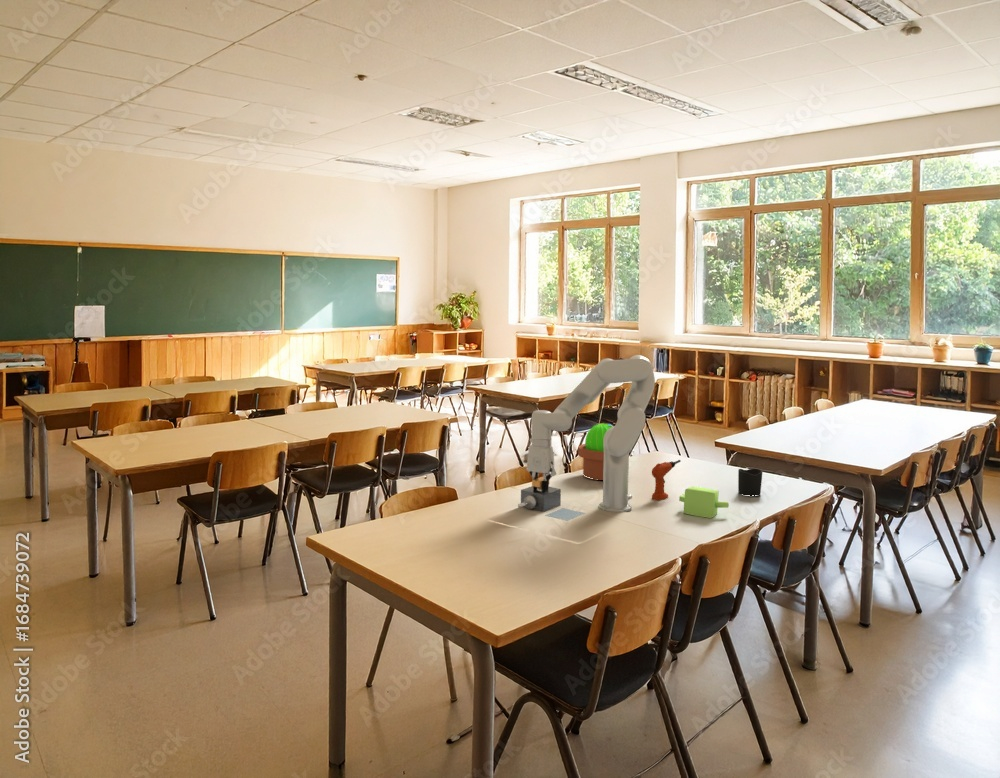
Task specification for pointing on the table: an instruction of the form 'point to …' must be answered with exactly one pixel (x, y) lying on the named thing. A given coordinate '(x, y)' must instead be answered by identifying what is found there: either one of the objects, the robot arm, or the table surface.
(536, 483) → the chuck key
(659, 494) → the toy drill
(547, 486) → the robot arm
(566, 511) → the key mat
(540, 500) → the block
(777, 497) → the table surface
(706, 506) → the gearbox
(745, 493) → the pen holder
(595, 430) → the potted cactus
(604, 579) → the table surface
